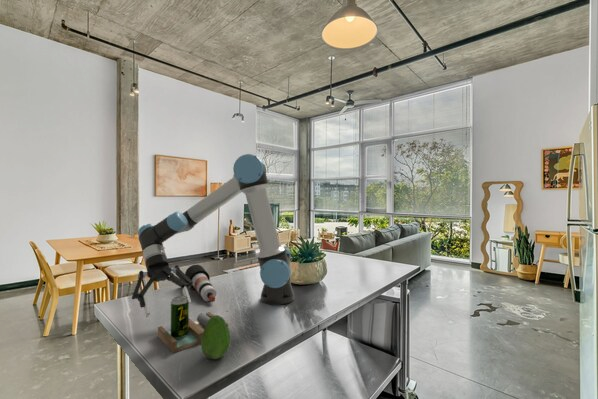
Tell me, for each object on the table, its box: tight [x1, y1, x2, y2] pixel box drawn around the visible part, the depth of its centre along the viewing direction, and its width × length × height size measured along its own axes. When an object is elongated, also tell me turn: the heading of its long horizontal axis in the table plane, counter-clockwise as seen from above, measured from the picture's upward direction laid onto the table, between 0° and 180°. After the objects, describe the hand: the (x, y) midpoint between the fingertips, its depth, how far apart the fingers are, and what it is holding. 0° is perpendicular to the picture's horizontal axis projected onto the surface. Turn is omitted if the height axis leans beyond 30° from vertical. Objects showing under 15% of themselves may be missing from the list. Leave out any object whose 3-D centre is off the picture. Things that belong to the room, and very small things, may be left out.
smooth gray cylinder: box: [196, 313, 210, 327], centre depth 95 cm, size 9×3×3 cm, turn 44°
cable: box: [184, 264, 217, 303], centre depth 133 cm, size 10×34×10 cm, turn 33°
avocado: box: [200, 314, 231, 360], centre depth 79 cm, size 8×8×12 cm
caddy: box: [157, 311, 229, 354], centre depth 92 cm, size 18×14×3 cm
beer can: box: [170, 295, 190, 339], centre depth 89 cm, size 5×5×12 cm
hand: (169, 309), depth 95 cm, fingers open, 13 cm apart
